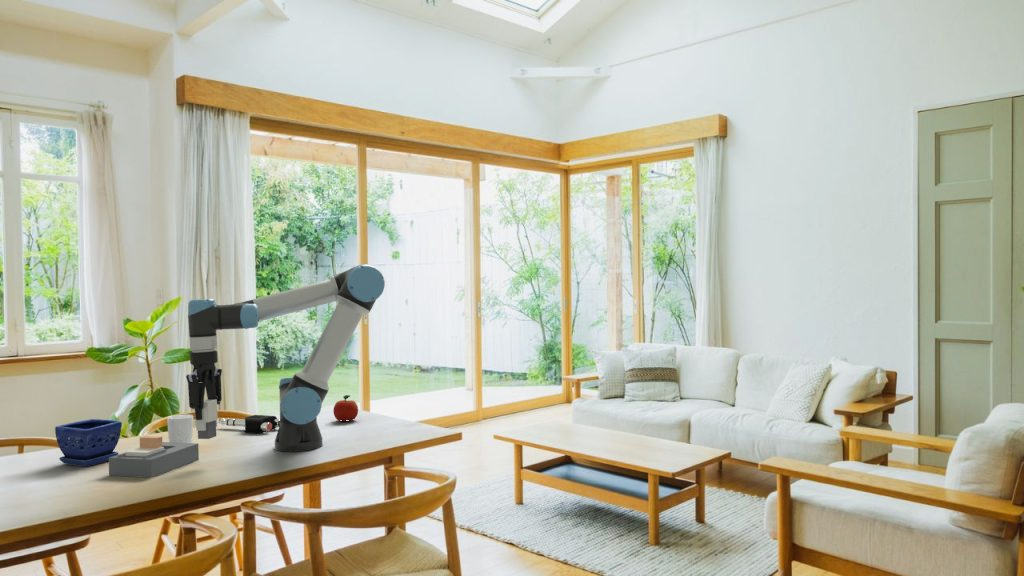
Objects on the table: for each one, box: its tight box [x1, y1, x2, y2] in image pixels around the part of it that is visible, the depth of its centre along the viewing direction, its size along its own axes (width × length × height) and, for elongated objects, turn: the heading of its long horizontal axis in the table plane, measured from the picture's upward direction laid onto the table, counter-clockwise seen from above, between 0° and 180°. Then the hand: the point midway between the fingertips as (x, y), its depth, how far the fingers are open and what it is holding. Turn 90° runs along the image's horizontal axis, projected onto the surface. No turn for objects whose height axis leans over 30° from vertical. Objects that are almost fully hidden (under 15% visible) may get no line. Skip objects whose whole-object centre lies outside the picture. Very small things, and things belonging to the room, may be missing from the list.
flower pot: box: [54, 418, 123, 467], centre depth 211 cm, size 13×13×12 cm
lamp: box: [219, 414, 280, 434], centre depth 256 cm, size 11×5×25 cm
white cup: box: [166, 414, 194, 443], centre depth 231 cm, size 8×8×10 cm
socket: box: [108, 441, 200, 478], centre depth 204 cm, size 14×20×6 cm
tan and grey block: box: [124, 435, 164, 457], centre depth 200 cm, size 7×7×4 cm
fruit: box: [333, 394, 359, 421], centre depth 271 cm, size 10×10×10 cm
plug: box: [194, 399, 219, 440], centre depth 206 cm, size 4×4×11 cm
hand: (206, 428), depth 206 cm, fingers closed on plug, 4 cm apart
